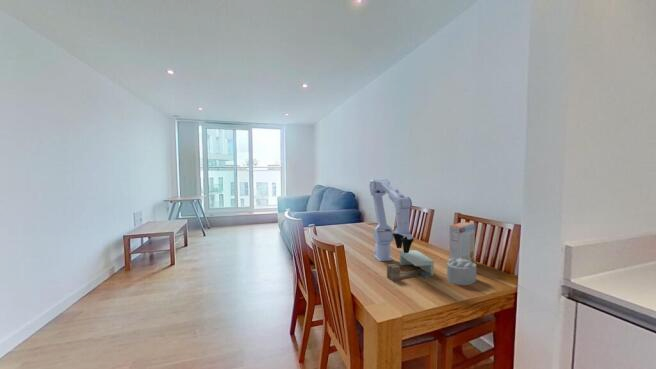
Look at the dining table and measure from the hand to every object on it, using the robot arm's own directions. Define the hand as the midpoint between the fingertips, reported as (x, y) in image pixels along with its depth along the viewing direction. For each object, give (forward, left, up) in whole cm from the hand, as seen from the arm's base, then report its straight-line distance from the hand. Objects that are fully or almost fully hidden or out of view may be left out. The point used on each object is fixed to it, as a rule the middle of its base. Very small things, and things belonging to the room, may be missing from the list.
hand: (402, 250), depth 125 cm
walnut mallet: (+5, 0, -10) cm, 12 cm away
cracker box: (-4, +35, -11) cm, 37 cm away
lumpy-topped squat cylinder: (+14, +21, -11) cm, 27 cm away
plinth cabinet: (-1, +7, -10) cm, 13 cm away
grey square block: (+7, +8, -11) cm, 15 cm away
